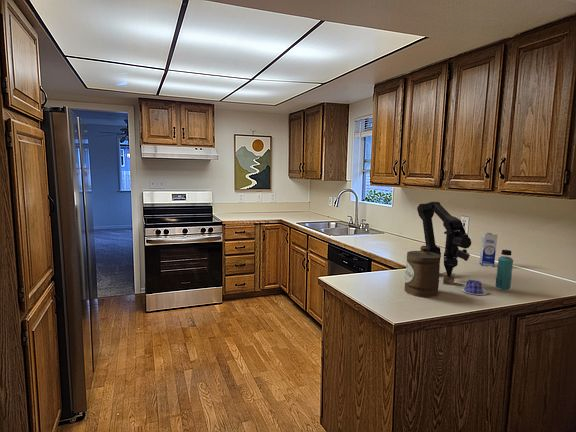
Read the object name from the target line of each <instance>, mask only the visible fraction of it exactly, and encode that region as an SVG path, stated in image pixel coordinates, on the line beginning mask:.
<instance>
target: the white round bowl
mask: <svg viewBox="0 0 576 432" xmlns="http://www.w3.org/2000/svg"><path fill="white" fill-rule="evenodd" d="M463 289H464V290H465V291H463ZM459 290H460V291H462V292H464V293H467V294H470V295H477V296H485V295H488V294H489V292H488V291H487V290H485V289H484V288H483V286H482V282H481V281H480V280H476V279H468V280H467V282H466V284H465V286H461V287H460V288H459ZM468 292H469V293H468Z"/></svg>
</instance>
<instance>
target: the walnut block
mask: <svg viewBox="0 0 576 432" xmlns="http://www.w3.org/2000/svg"><path fill="white" fill-rule="evenodd" d="M455 276H456V275H455V273H454V272H452V273H451V276H450V277H448V275H447V272H445V271H444V272H443V279H442V285H448V286H455V278H456V277H455Z"/></svg>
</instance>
